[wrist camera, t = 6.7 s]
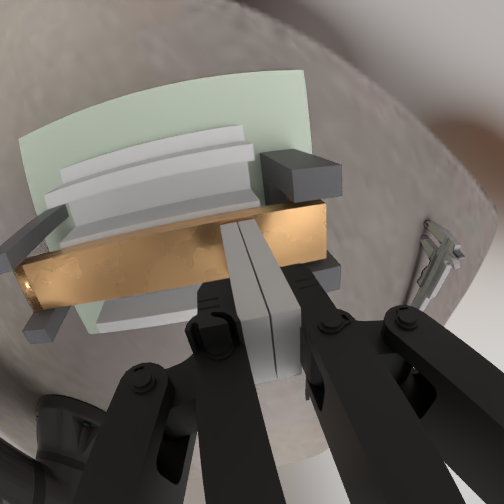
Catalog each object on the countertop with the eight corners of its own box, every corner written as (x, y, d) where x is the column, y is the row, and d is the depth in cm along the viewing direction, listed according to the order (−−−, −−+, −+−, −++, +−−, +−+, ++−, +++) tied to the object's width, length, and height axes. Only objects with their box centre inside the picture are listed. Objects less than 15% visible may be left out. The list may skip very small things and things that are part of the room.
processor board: (93, 324, 23) (67, 402, 15) (28, 137, 15) (-53, 159, 6) (310, 285, 25) (356, 359, 17) (296, 73, 17) (366, 45, 9)
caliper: (422, 218, 25) (463, 244, 19) (429, 218, 25) (470, 243, 19) (379, 359, 34) (399, 391, 28) (385, 357, 34) (406, 389, 28)
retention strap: (51, 281, 16) (29, 313, 12) (35, 243, 14) (8, 270, 11) (304, 232, 17) (327, 259, 14) (301, 186, 16) (327, 204, 13)
